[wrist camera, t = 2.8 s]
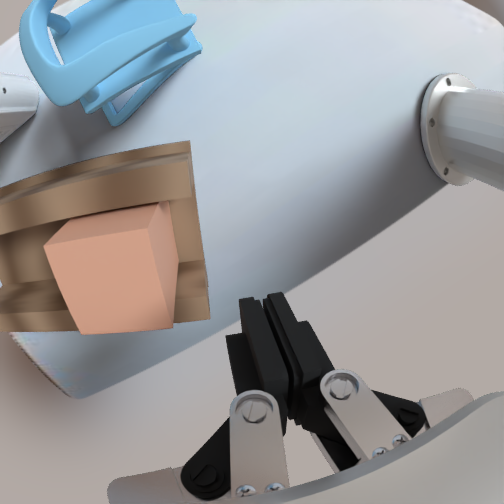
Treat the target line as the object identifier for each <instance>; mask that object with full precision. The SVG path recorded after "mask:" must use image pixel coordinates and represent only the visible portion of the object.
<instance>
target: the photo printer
mask: <svg viewBox="0 0 504 504" xmlns="http://www.w3.org/2000/svg"><path fill="white" fill-rule="evenodd" d="M38 104H39V89H38V86H37V85H36V83H35V82H33V81H31V80H30V78H29V77H28V76H25V75H20V74H13V73H5V72H0V143H1V142H2V141H3V140H5V139H6V138H7V137H8V136H9V135H10V134H12V133H13V132H14V131H15V130H16V129H18V128H19V127H20V126H21V125H23V124H24V123H25V122H26V121H27V120H28V119H30V118H31V117H32V116H33V115H34V114H35V113H36V111H37V106H38Z"/></svg>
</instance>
